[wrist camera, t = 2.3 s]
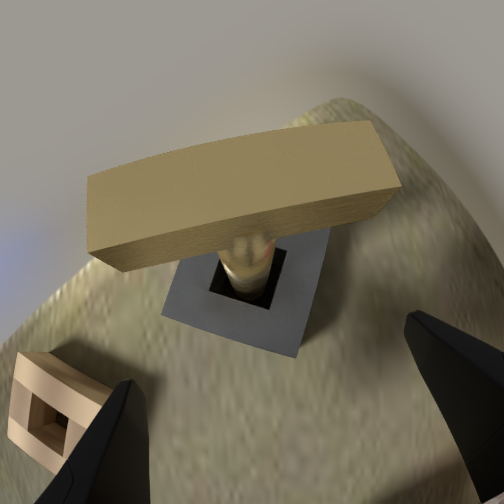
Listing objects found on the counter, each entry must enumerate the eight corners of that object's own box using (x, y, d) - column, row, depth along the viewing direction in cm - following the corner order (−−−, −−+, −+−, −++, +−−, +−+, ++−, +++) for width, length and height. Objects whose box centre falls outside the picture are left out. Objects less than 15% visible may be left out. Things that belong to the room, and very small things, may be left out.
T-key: (300, 254, 22) (368, 117, 7) (308, 286, 21) (403, 189, 7) (190, 278, 21) (87, 173, 7) (197, 311, 20) (87, 256, 6)
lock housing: (318, 246, 22) (331, 227, 18) (288, 354, 20) (295, 358, 16) (214, 216, 22) (206, 192, 19) (178, 319, 20) (161, 314, 16)
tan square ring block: (126, 396, 19) (101, 406, 15) (107, 475, 17) (85, 493, 13) (48, 352, 19) (18, 351, 16) (35, 428, 17) (7, 436, 13)
